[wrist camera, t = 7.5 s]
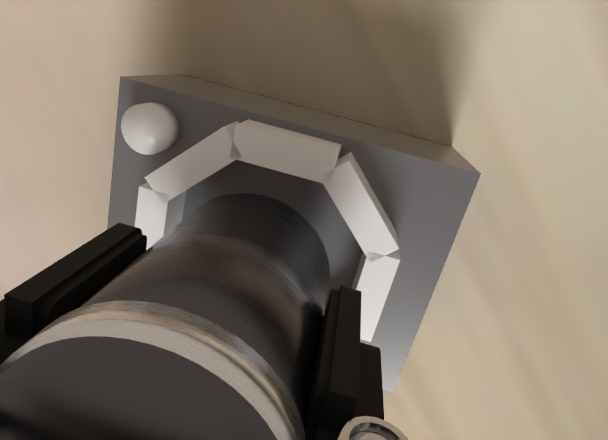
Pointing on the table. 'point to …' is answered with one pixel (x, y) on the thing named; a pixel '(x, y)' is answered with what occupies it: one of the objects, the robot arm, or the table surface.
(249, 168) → the grey hollow block
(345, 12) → the table surface
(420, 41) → the table surface
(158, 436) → the lens
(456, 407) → the table surface
